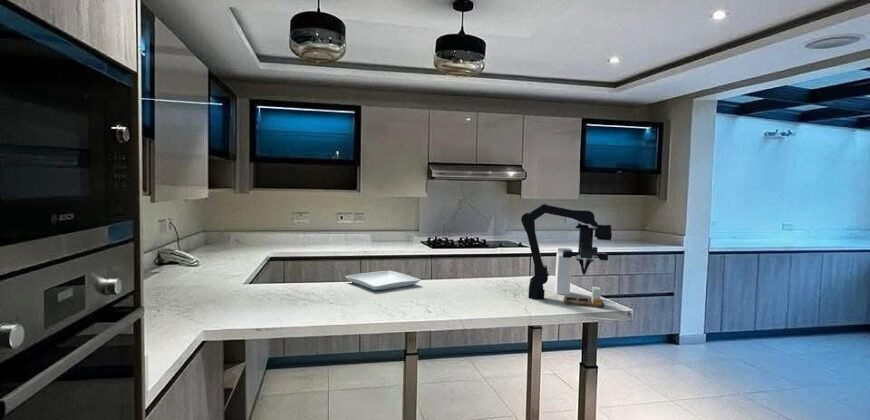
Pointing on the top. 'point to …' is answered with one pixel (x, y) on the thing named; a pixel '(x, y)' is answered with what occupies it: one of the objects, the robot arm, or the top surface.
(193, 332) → the top surface
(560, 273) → the milk
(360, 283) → the square plate
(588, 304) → the rack
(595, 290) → the block
